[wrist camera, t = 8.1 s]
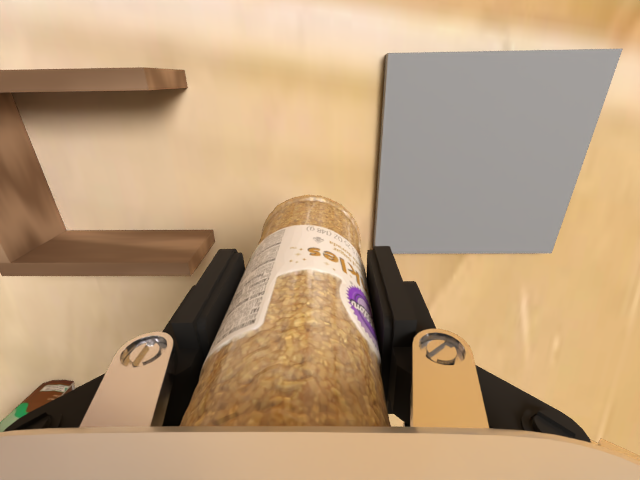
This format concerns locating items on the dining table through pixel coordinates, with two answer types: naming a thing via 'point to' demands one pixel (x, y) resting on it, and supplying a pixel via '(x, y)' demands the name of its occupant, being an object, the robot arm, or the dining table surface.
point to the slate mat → (484, 147)
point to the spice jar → (296, 330)
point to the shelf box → (39, 206)
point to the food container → (38, 400)
